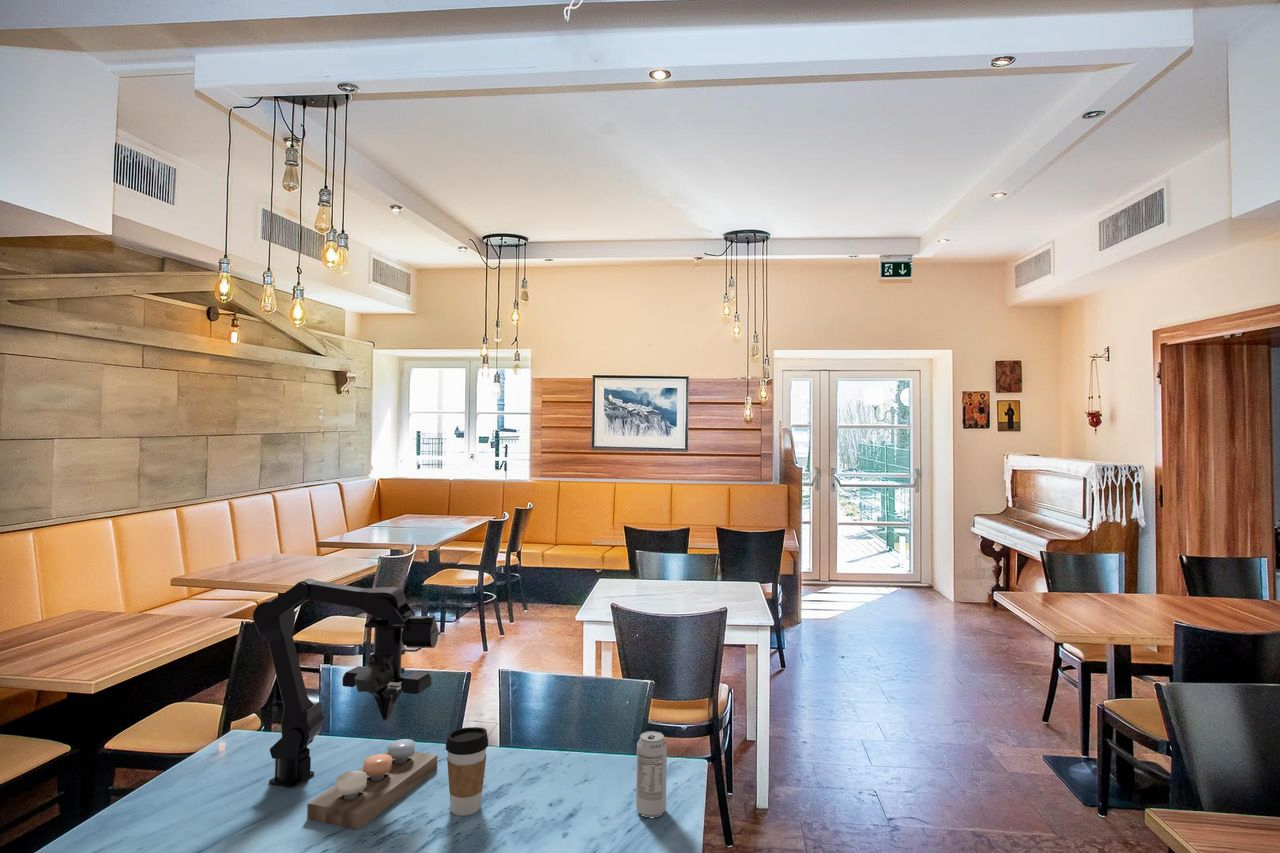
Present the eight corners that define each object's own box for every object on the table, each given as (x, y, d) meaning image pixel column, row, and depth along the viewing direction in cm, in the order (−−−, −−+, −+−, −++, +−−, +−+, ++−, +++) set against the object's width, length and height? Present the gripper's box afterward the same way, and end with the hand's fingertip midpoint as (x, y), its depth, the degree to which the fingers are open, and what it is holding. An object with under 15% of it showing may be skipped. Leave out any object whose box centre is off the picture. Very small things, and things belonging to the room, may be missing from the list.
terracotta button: (356, 788, 140) (357, 763, 141) (374, 776, 146) (375, 752, 146) (380, 792, 139) (380, 767, 139) (397, 780, 144) (397, 756, 144)
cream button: (329, 807, 133) (330, 781, 133) (349, 793, 138) (349, 769, 138) (353, 812, 131) (354, 786, 131) (372, 798, 137) (373, 773, 137)
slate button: (381, 771, 148) (382, 747, 148) (397, 760, 153) (398, 737, 154) (403, 774, 147) (404, 751, 147) (419, 763, 152) (419, 740, 152)
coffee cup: (476, 821, 131) (477, 743, 132) (436, 816, 133) (438, 738, 134) (493, 800, 140) (495, 726, 140) (456, 795, 141) (457, 722, 142)
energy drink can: (669, 807, 138) (670, 732, 138) (660, 822, 132) (661, 744, 133) (641, 801, 140) (642, 728, 140) (631, 816, 134) (632, 739, 135)
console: (307, 819, 131) (307, 803, 132) (391, 761, 156) (391, 747, 157) (359, 829, 128) (359, 813, 128) (437, 768, 153) (437, 755, 153)
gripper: (326, 654, 143) (323, 729, 142) (404, 661, 138) (402, 739, 138) (359, 640, 154) (357, 709, 153) (433, 646, 149) (431, 718, 149)
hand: (385, 719), depth 148 cm, fingers closed
